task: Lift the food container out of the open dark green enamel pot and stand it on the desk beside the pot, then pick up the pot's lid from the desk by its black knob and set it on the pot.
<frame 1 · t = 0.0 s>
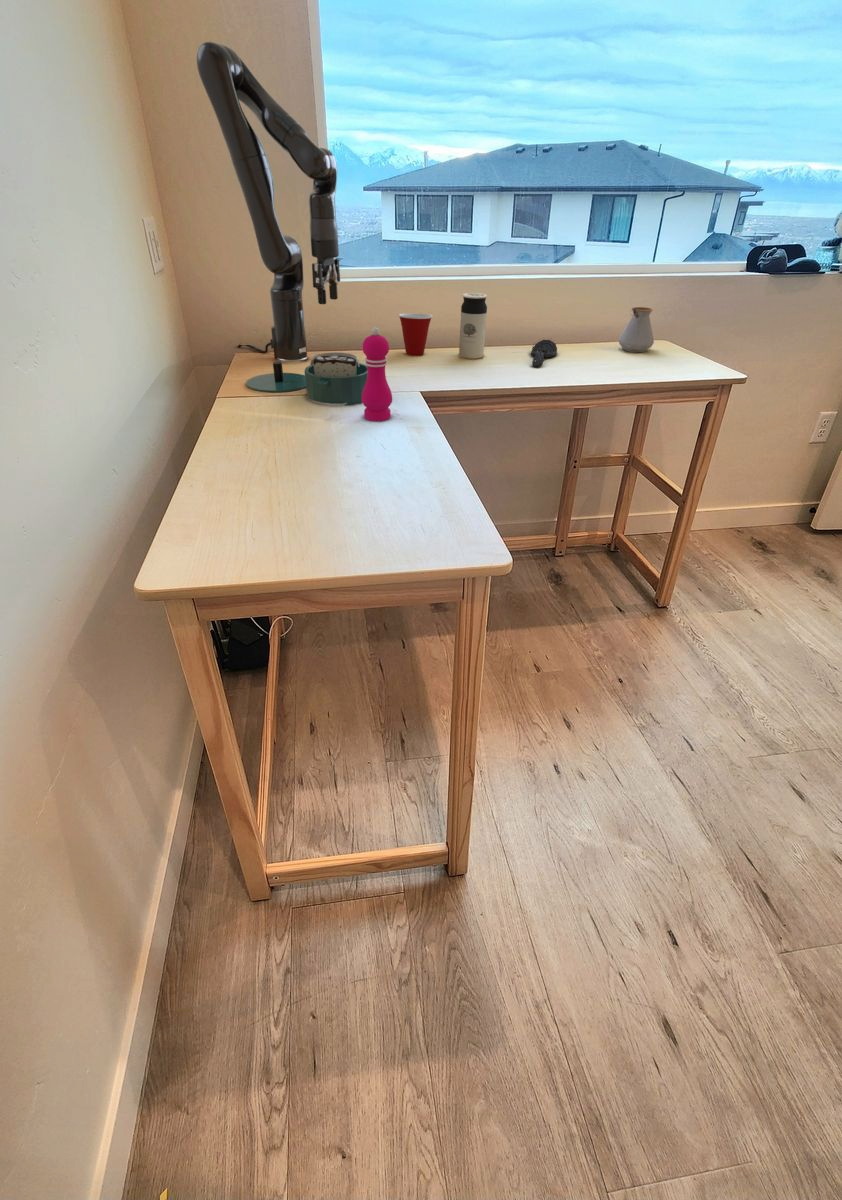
hand: (328, 301, 179), 17 cm above the table, tool pointing down, fingers open, 8 cm apart
pot: (339, 396, 161), on the table
coffee pot: (631, 353, 207), on the table
hairbrush: (541, 358, 198), on the table
food container: (339, 395, 161), resting on pot
pepper mill: (377, 418, 148), on the table
pot lid: (279, 383, 168), point 1 cm above the table
travel mug: (471, 356, 199), on the table
plastic cup: (415, 354, 200), on the table
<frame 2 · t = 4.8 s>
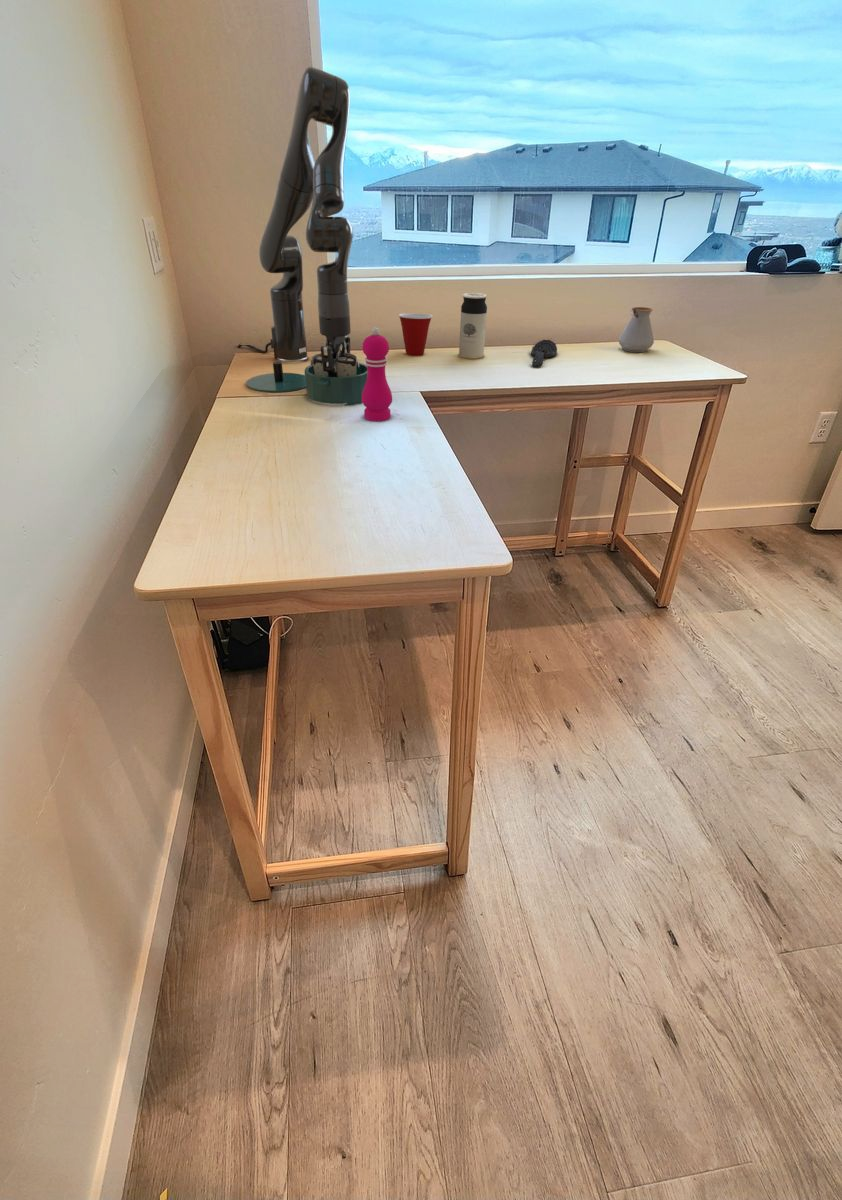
hand: (338, 384, 159), 3 cm above the table, tool pointing down, fingers closed on food container, 6 cm apart
food container: (339, 395, 161), resting on pot, touching gripper
everything else where it was.
when the fingers open (3 cm above the table, at t = 12.2 s): food container stays where it is, on the table.
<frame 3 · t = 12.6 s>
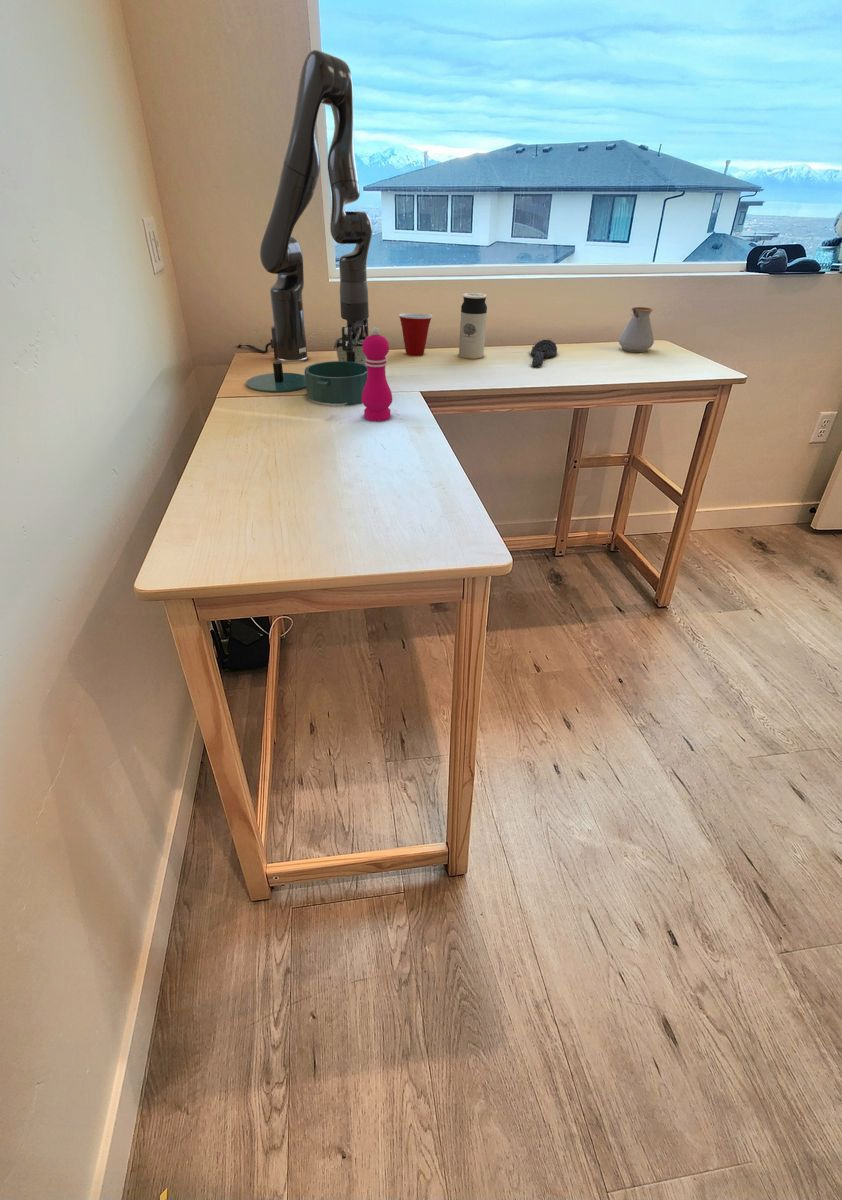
hand: (356, 362, 174), 4 cm above the table, tool pointing down, fingers open, 8 cm apart
food container: (359, 374, 178), on the table, touching gripper
everything else where it was.
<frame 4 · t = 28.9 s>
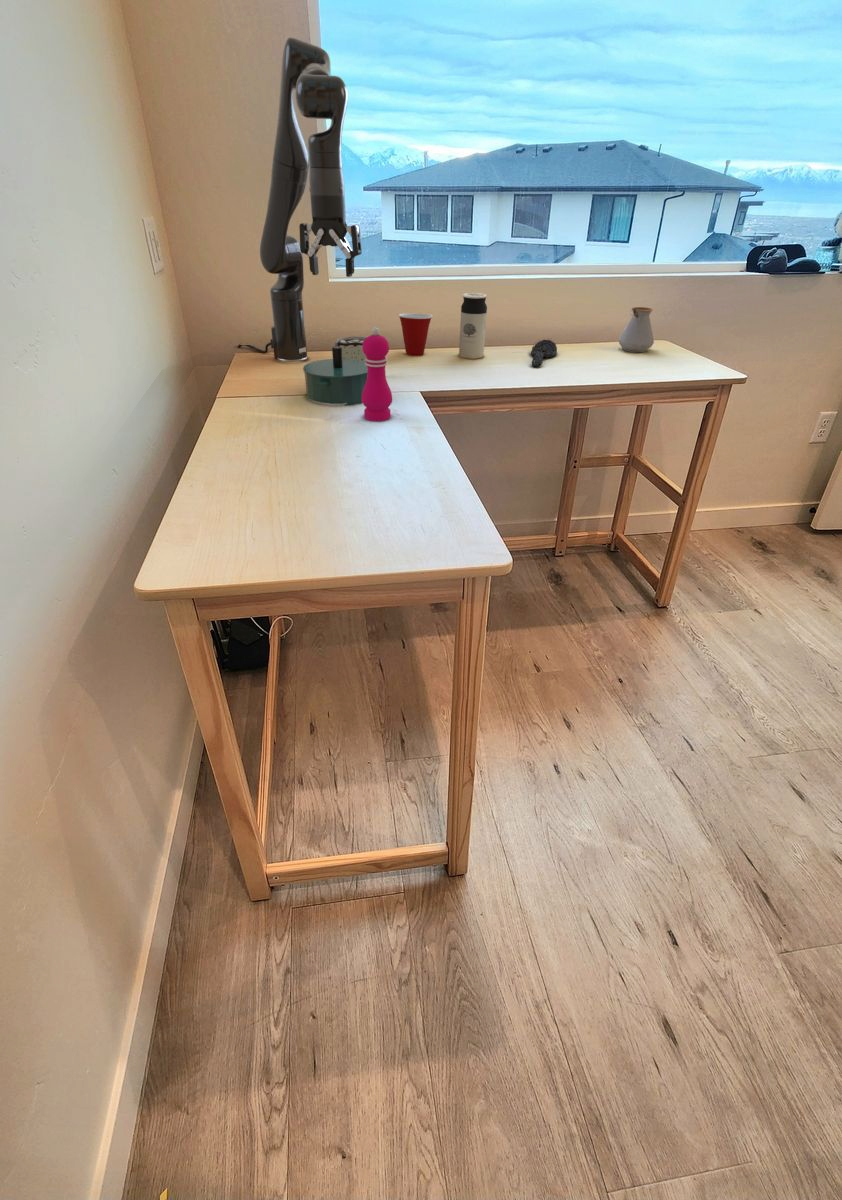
hand: (332, 275, 145), 28 cm above the table, tool pointing down, fingers open, 8 cm apart
food container: (359, 375, 178), on the table
pot lid: (338, 369, 157), point 7 cm above the table, touching pot
everything else where it was.
at the end: food container inside the target area (1.9 cm from its centre), on the table; food container tilted 0°; pot lid 0.1 cm off-centre on the pot, point 6.8 cm above the pot's base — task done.
